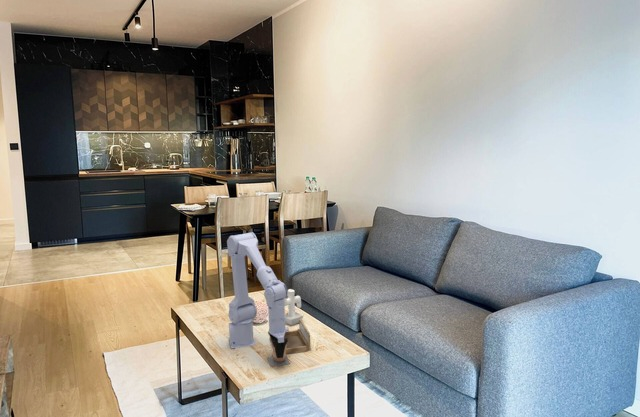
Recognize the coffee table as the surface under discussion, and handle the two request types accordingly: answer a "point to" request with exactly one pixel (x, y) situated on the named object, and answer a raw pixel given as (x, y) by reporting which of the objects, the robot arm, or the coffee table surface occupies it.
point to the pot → (276, 356)
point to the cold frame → (295, 342)
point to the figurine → (292, 308)
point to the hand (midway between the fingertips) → (278, 354)
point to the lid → (304, 332)
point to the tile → (273, 363)
